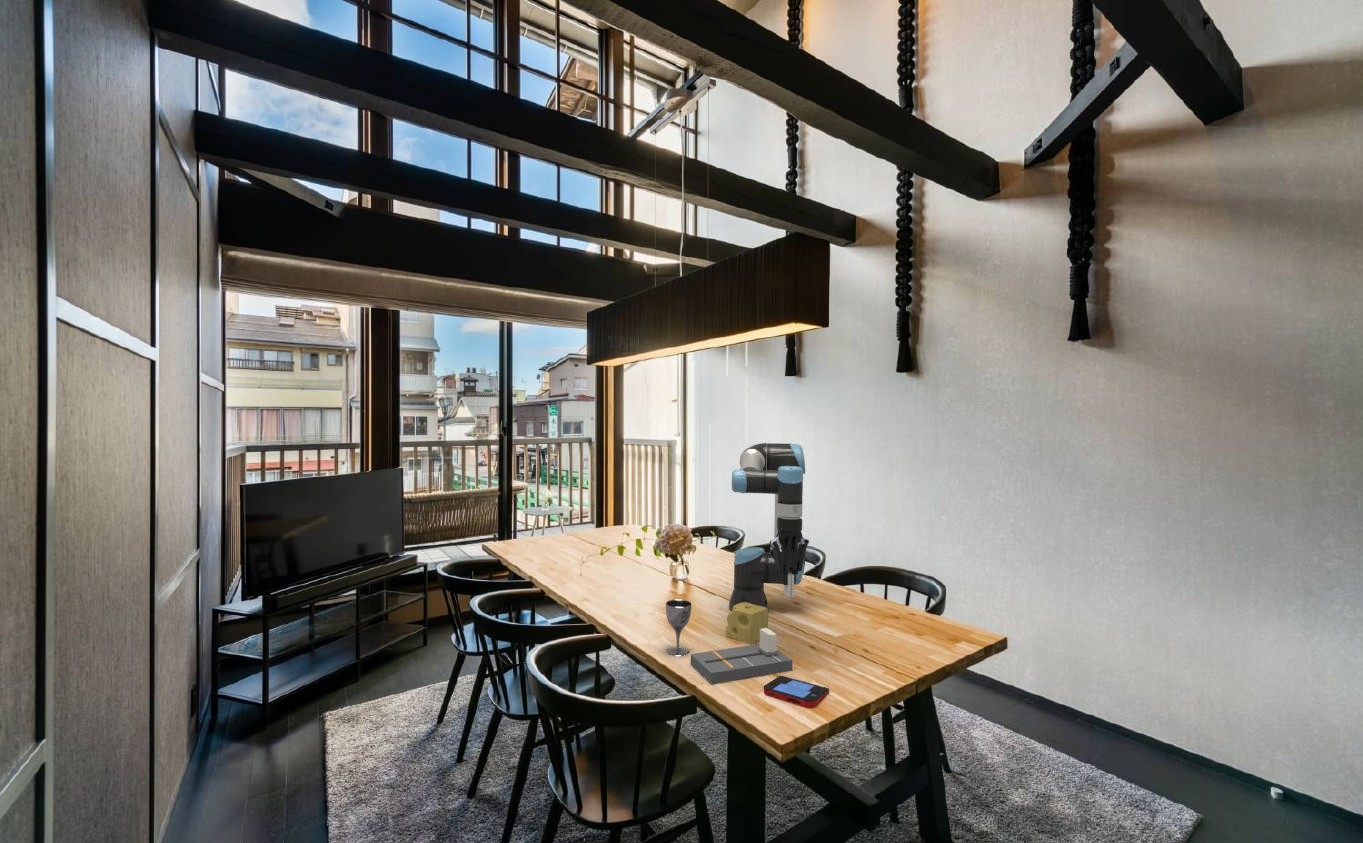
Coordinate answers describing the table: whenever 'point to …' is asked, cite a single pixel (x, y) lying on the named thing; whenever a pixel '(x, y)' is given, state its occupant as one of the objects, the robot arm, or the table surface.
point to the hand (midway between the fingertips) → (788, 595)
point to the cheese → (746, 622)
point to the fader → (768, 642)
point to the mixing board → (738, 663)
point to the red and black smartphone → (795, 691)
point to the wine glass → (678, 621)
